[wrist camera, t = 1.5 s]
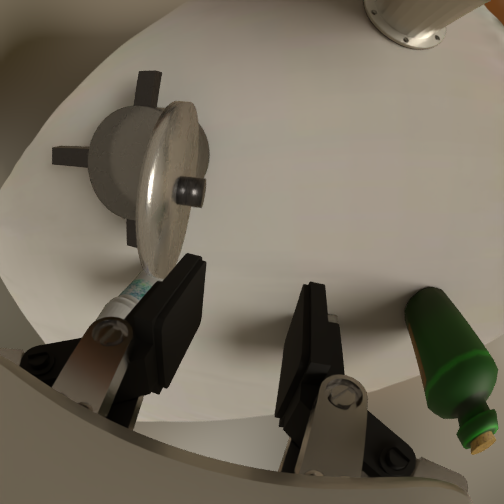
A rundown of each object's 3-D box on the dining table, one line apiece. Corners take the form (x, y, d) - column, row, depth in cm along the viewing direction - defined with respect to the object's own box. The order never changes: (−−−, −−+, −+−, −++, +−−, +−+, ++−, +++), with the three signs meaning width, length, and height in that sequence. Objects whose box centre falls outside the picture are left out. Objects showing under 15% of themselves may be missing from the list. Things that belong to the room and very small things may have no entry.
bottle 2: (392, 332, 44) (426, 477, 19) (404, 280, 40) (470, 434, 14) (441, 328, 42) (492, 455, 17) (457, 279, 38) (538, 406, 13)
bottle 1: (148, 287, 48) (85, 361, 30) (145, 253, 46) (71, 323, 28) (182, 295, 48) (126, 378, 30) (181, 260, 45) (115, 341, 27)
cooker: (91, 83, 34) (53, 81, 26) (229, 82, 32) (207, 68, 24) (85, 211, 44) (51, 229, 36) (207, 238, 42) (184, 265, 34)
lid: (145, 93, 12) (199, 96, 13) (195, 105, 26) (224, 108, 26) (139, 314, 19) (179, 322, 19) (181, 234, 32) (206, 238, 32)
